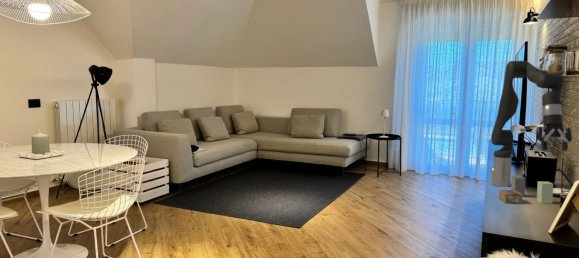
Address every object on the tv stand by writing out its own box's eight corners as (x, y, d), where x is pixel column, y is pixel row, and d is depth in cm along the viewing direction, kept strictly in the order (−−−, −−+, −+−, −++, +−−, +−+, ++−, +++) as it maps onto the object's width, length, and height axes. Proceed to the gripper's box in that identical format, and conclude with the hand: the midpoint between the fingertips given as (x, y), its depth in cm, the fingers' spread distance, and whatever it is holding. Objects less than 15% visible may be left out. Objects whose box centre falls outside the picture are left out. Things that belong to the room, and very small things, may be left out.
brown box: (505, 203, 199) (505, 194, 199) (499, 199, 207) (499, 189, 207) (522, 204, 198) (522, 194, 197) (515, 199, 206) (516, 190, 206)
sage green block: (541, 203, 198) (542, 183, 197) (536, 200, 203) (537, 181, 202) (552, 203, 197) (553, 183, 196) (547, 200, 202) (548, 181, 201)
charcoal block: (514, 196, 211) (515, 178, 210) (511, 194, 216) (511, 176, 215) (524, 196, 210) (525, 178, 209) (520, 194, 215) (521, 176, 214)
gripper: (563, 117, 185) (565, 152, 182) (531, 116, 186) (533, 150, 183) (573, 114, 178) (576, 150, 175) (541, 112, 178) (543, 148, 175)
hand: (554, 150), depth 179 cm, fingers open, 8 cm apart
